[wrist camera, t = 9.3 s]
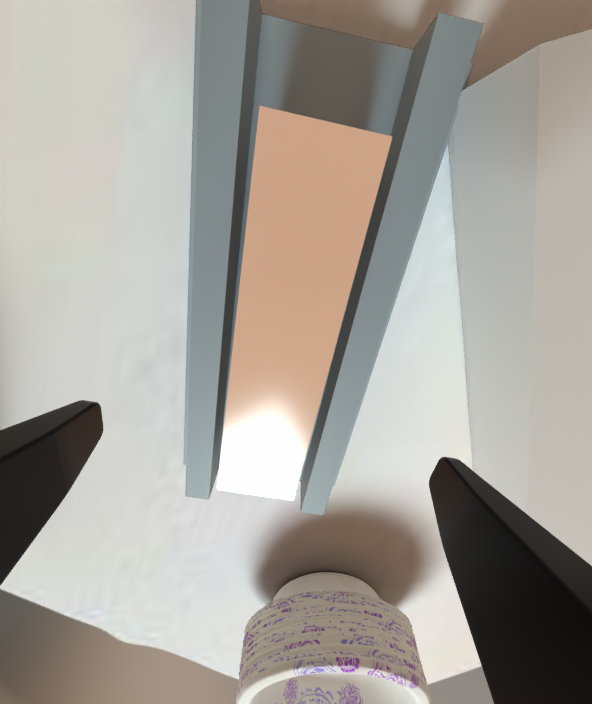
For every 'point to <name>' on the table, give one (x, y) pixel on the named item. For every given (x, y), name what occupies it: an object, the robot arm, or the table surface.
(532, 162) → the light grey long wedge
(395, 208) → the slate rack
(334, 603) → the white purple speckled bowl
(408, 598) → the table surface
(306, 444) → the clay strip
